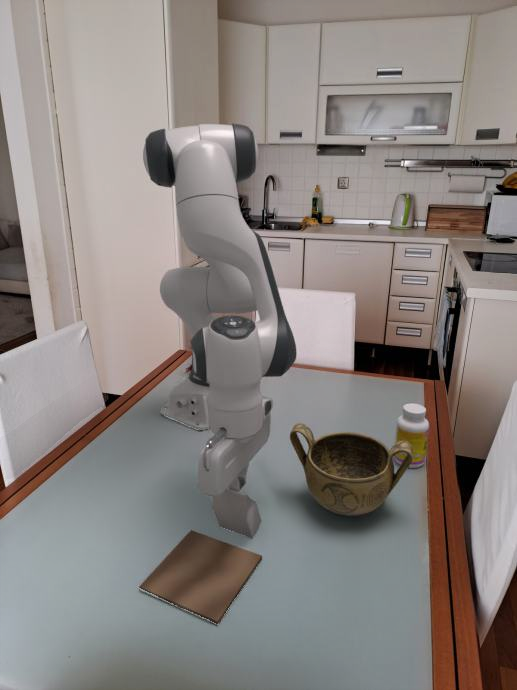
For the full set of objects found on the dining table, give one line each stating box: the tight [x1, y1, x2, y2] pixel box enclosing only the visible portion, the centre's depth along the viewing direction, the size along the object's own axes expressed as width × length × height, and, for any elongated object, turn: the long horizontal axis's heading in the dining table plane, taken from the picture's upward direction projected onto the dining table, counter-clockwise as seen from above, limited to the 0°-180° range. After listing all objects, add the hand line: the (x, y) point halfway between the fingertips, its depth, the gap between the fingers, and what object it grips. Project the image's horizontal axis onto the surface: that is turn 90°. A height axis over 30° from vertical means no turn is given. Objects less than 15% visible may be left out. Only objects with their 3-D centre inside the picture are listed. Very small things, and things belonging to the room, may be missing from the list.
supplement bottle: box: [393, 402, 430, 469], centre depth 106 cm, size 7×7×13 cm
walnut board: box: [139, 529, 263, 624], centre depth 78 cm, size 14×14×1 cm
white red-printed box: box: [211, 488, 263, 540], centre depth 86 cm, size 4×7×10 cm, turn 64°
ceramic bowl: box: [289, 422, 413, 517], centre depth 93 cm, size 22×17×15 cm
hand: (237, 488), depth 85 cm, fingers closed
